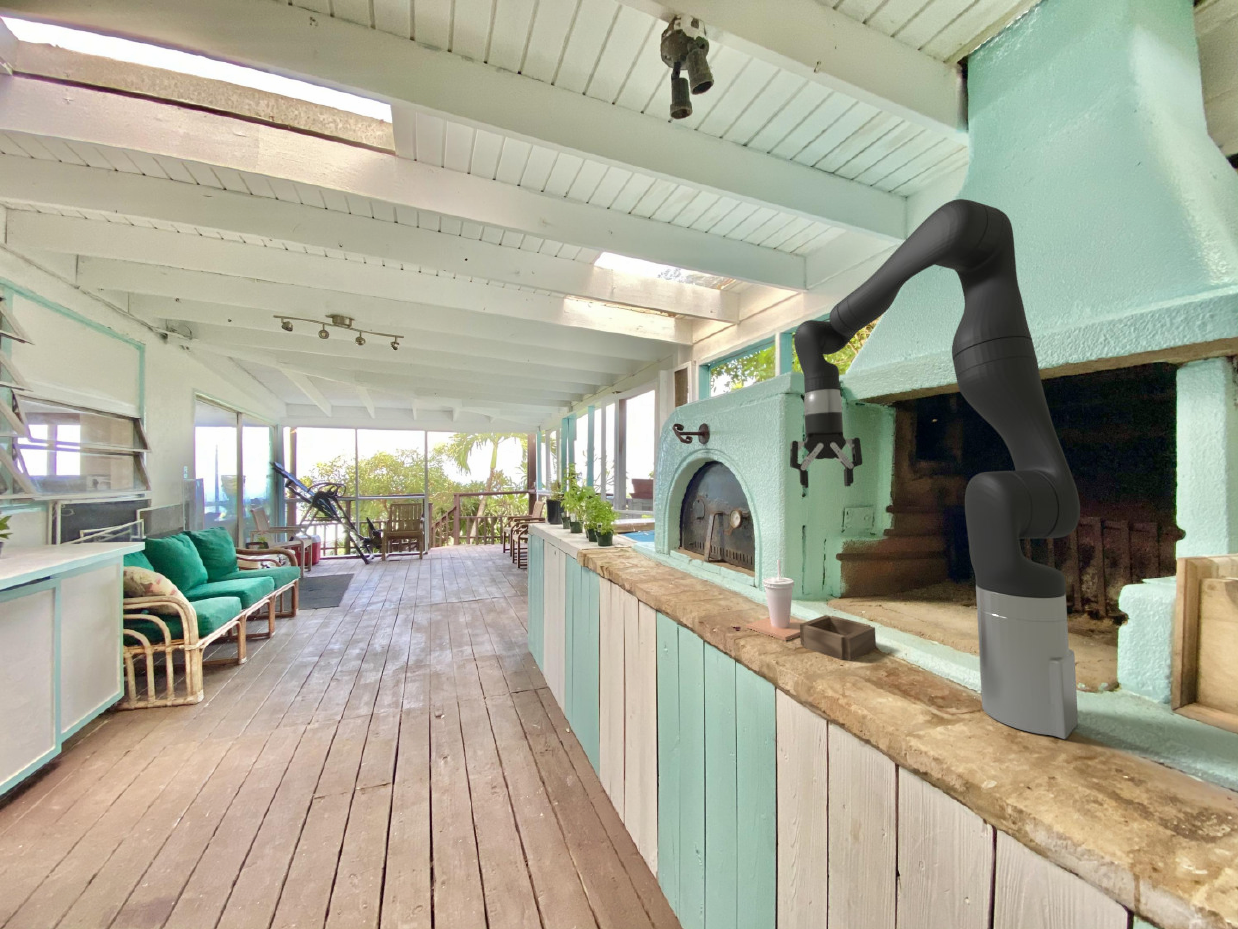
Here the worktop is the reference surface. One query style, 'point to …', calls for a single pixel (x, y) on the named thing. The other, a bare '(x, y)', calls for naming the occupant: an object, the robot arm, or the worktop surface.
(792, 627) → the terracotta tile
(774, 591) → the smoothie
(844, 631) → the wooden storage tray
